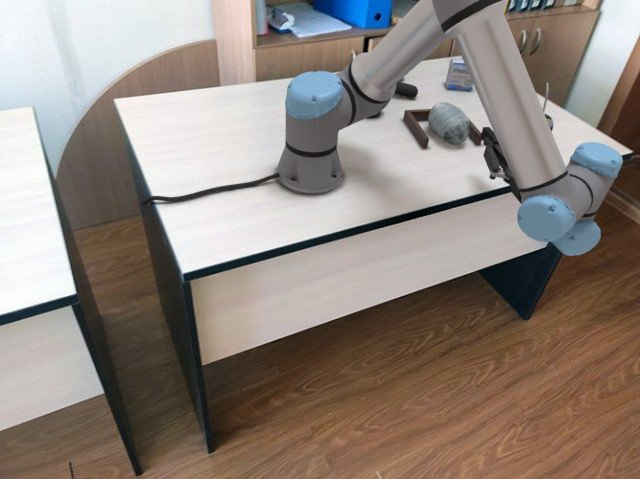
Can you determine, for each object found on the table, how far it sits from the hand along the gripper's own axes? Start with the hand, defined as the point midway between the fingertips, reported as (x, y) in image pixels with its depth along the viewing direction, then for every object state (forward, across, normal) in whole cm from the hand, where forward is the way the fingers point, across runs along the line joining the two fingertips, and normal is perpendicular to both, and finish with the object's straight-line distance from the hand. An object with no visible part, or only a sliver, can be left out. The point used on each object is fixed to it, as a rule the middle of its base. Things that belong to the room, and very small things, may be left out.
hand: (484, 132), depth 117 cm
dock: (+20, 0, -12) cm, 23 cm away
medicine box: (+47, +17, -12) cm, 51 cm away
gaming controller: (+48, -4, -12) cm, 49 cm away
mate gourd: (+12, +23, -12) cm, 28 cm away
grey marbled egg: (+18, 0, -12) cm, 21 cm away
